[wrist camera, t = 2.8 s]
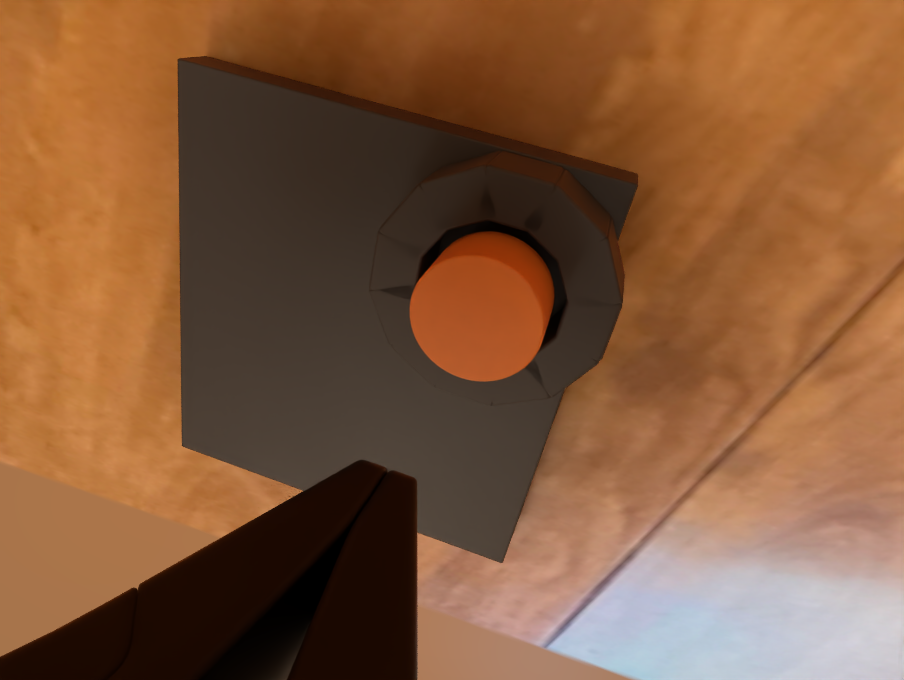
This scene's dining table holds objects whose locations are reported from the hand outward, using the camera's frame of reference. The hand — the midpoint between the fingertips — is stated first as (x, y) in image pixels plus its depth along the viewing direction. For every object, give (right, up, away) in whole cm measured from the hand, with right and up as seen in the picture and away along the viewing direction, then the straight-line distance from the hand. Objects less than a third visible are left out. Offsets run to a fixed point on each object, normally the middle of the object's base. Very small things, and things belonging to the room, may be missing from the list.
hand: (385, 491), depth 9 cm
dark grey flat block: (-1, +3, +11) cm, 11 cm away
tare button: (+2, +3, +6) cm, 7 cm away
